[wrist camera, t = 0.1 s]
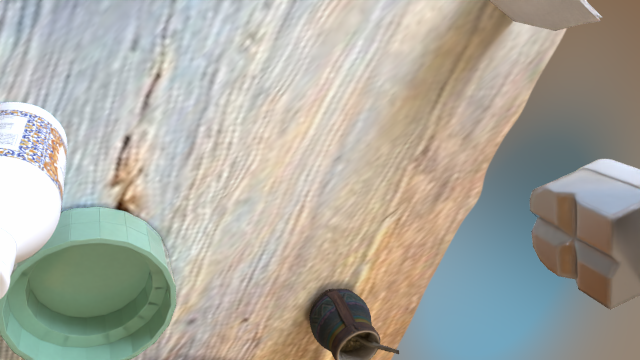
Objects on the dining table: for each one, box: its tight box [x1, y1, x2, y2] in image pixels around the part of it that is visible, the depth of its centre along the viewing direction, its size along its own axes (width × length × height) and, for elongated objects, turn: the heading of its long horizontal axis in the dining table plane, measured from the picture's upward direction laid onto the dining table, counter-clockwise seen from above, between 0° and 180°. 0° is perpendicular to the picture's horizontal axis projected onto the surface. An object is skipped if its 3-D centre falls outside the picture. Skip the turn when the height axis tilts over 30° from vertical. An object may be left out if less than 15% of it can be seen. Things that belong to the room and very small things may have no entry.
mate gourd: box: [309, 289, 399, 360], centre depth 58 cm, size 7×8×10 cm
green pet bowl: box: [0, 207, 176, 360], centre depth 46 cm, size 14×14×6 cm
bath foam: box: [0, 102, 67, 299], centre depth 33 cm, size 7×7×20 cm
